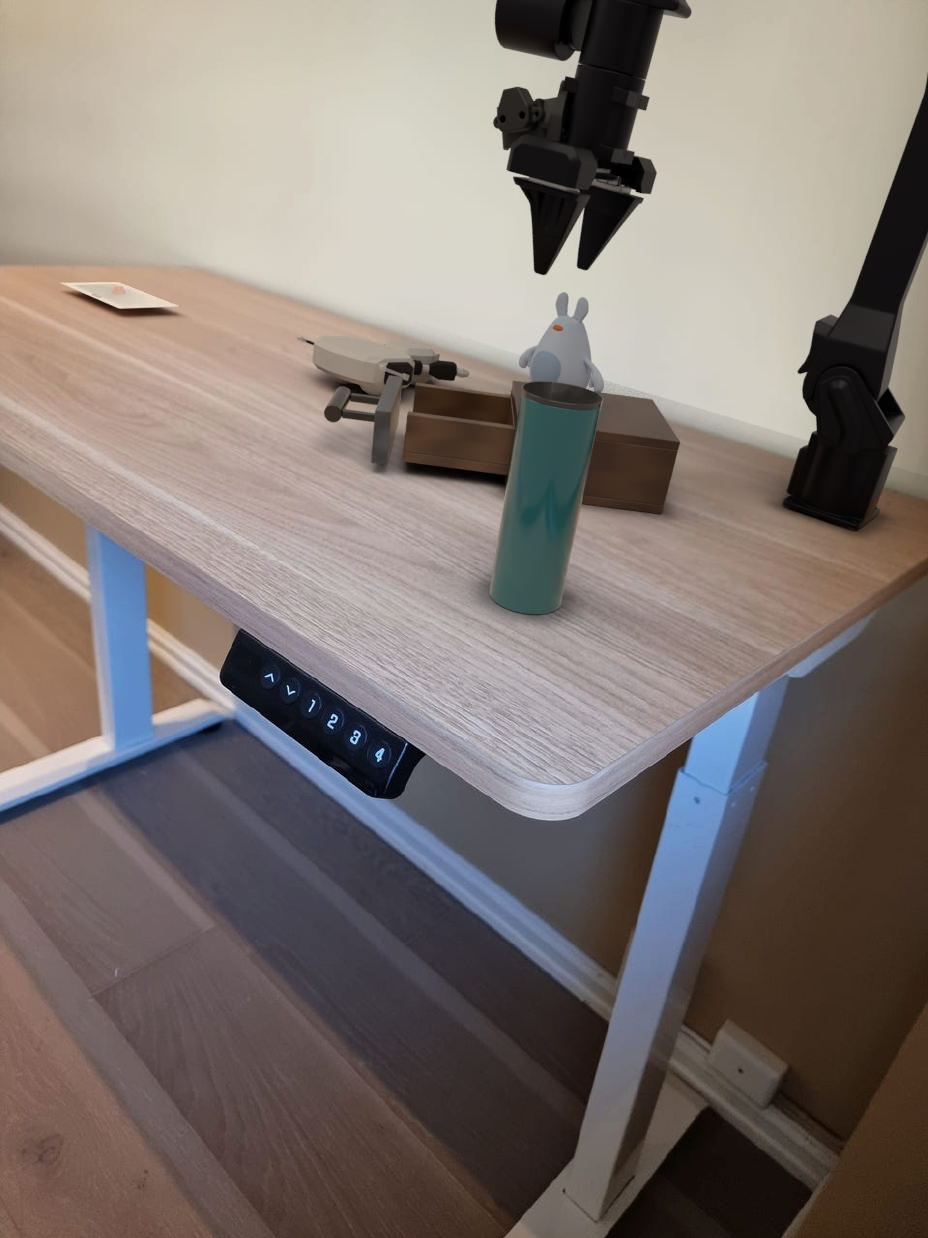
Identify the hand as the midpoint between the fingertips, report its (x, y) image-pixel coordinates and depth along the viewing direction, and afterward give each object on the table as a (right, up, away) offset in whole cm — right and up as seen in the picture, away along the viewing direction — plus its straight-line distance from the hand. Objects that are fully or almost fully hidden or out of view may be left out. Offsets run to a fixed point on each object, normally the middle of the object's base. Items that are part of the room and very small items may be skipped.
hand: (561, 271), depth 80 cm
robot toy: (-17, -7, +13) cm, 23 cm away
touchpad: (-52, +8, +31) cm, 61 cm away
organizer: (+1, -19, -5) cm, 20 cm away
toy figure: (0, -11, +10) cm, 15 cm away
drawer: (-12, -17, -6) cm, 22 cm away
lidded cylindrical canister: (-5, -30, -26) cm, 40 cm away
